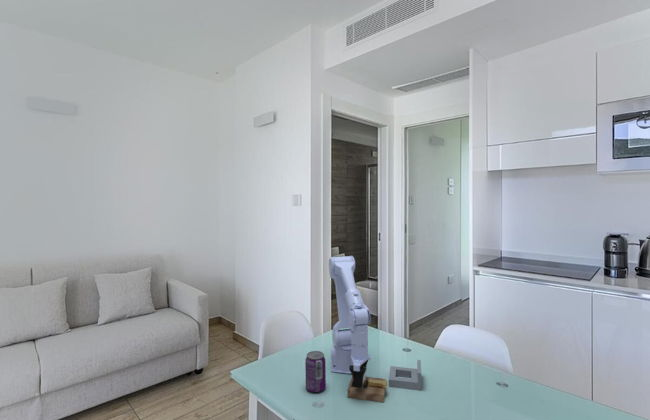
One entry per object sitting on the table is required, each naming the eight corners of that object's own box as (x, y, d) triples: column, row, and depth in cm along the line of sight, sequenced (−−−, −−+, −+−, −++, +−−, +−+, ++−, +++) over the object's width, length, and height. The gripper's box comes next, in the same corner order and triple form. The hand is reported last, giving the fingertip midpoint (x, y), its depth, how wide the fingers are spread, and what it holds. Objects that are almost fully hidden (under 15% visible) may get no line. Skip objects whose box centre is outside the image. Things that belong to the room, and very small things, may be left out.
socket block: (347, 397, 111) (347, 390, 111) (352, 381, 121) (352, 375, 121) (383, 402, 108) (383, 394, 108) (385, 386, 118) (385, 379, 118)
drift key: (368, 386, 113) (367, 382, 113) (369, 381, 116) (369, 378, 116) (386, 388, 112) (386, 384, 112) (387, 383, 115) (387, 380, 115)
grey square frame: (388, 386, 118) (388, 369, 118) (390, 372, 128) (390, 356, 127) (421, 390, 115) (421, 373, 115) (420, 375, 125) (420, 360, 125)
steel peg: (353, 393, 114) (353, 370, 114) (355, 387, 118) (355, 364, 118) (365, 394, 113) (364, 371, 113) (366, 388, 117) (366, 365, 117)
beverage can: (328, 384, 120) (328, 351, 119) (321, 395, 113) (321, 360, 113) (310, 381, 122) (309, 349, 122) (302, 391, 115) (302, 357, 115)
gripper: (368, 353, 107) (369, 394, 107) (373, 335, 121) (373, 372, 121) (347, 351, 109) (347, 392, 109) (354, 334, 123) (354, 370, 123)
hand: (360, 381), depth 115 cm, fingers open, 6 cm apart
